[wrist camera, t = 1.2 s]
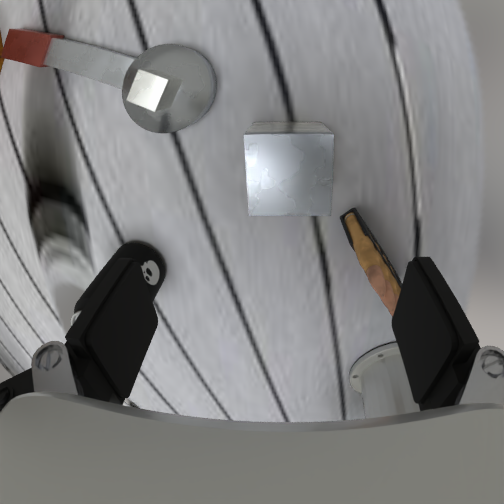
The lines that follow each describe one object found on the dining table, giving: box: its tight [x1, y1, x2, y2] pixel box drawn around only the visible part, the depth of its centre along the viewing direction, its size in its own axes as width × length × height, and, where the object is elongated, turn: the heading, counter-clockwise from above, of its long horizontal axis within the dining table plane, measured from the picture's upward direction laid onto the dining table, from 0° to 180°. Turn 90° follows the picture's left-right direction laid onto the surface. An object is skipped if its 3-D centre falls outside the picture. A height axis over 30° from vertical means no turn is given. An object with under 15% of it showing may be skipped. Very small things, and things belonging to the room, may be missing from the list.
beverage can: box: [71, 243, 165, 326], centre depth 29 cm, size 7×7×12 cm
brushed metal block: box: [244, 122, 334, 216], centre depth 23 cm, size 6×6×7 cm
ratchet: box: [1, 29, 216, 133], centre depth 20 cm, size 27×8×6 cm, turn 63°
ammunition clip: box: [340, 208, 402, 317], centre depth 26 cm, size 11×2×12 cm, turn 41°
